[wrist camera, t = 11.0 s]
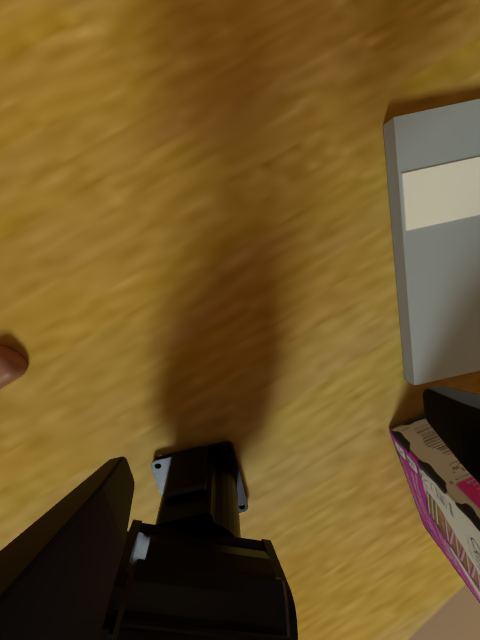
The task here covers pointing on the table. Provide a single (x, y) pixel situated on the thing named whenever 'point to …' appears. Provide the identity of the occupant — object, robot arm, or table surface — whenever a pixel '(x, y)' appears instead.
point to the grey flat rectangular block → (436, 238)
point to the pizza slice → (10, 365)
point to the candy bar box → (442, 496)
